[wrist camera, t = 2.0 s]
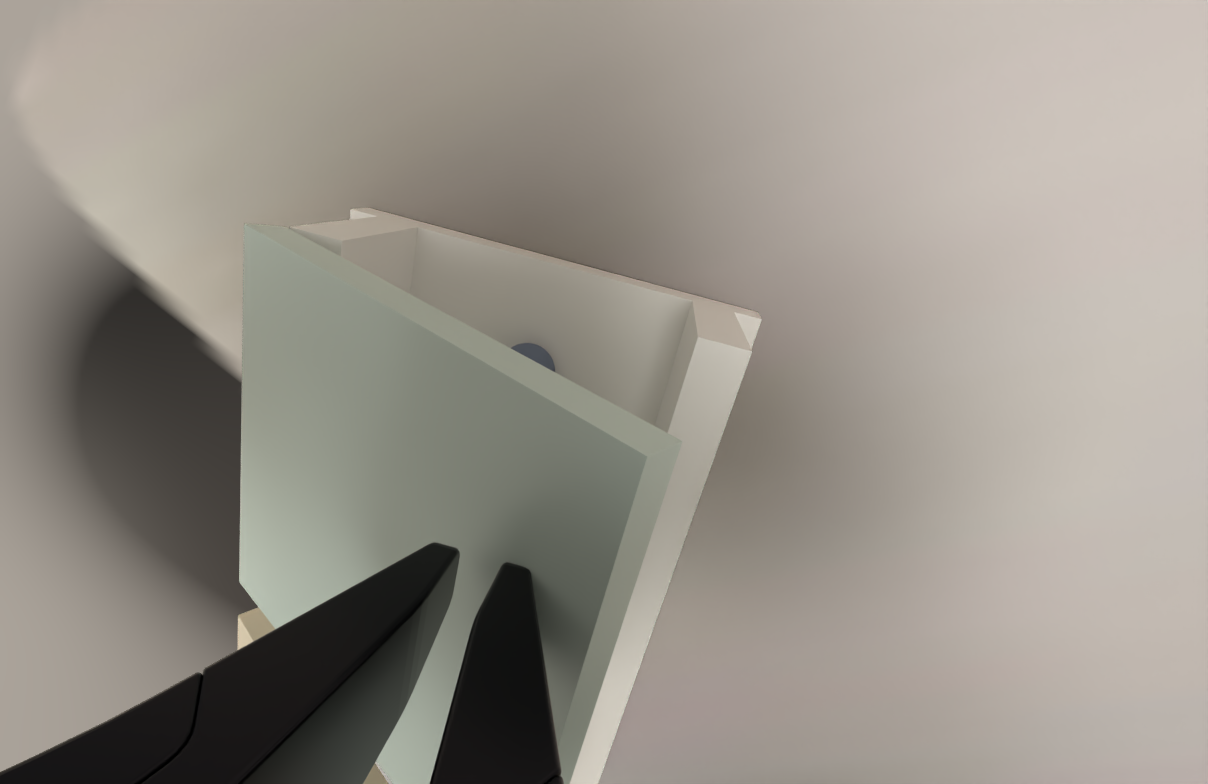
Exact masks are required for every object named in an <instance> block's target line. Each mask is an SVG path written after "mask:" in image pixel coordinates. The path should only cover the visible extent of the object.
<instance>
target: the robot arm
mask: <svg viewBox="0 0 1208 784" xmlns="http://www.w3.org/2000/svg"><path fill="white" fill-rule="evenodd" d="M459 559H460V552H459V550H458V549H457V548H456V547H452V546H448V545H445V544H441V543H438V542H433V543H430V544H428V545H426V546H424V547H422V548H421V549H419V550H417V551H415V552H413V553H412V554H410V555H408V556H406V557H404V558H403V559H401V560H399V561H397V562H395V563H394V564H392V565H390V566H388V567H386V568H385V569H383V570H381V571H379V572H377V573H376V574H374V575H372V576H370V577H368V578H367V579H365V580H363V581H361V582H359V583H358V584H356V585H354V586H352V587H350V588H349V589H347V590H345V591H343V592H341V593H340V594H338V595H336V596H334V597H332V598H331V599H329V600H327V601H325V602H323V603H322V604H320V605H318V606H316V607H314V608H313V609H311V610H309V611H307V612H305V613H304V614H302V615H300V616H298V617H296V618H295V619H293V620H291V621H289V622H287V623H286V624H284V625H282V626H280V627H278V628H276V629H275V630H273V631H271V632H269V633H267V634H266V635H264V636H262V637H260V638H258V639H257V640H255V641H253V642H251V643H249V644H248V645H246V646H244V647H242V648H240V649H239V650H237V651H235V652H233V653H232V654H230V655H228V656H226V657H225V658H222V659H221V660H219V661H217V662H215V663H213V664H212V665H210V666H208V667H206V668H205V669H204V671H203V675H202V674H201V673H195V674H193V675H192V676H190V677H188V678H186V679H184V680H182V681H180V682H179V683H177V684H175V685H173V686H171V687H170V688H168V689H166V690H164V691H162V692H161V693H159V694H157V695H155V696H153V697H151V698H149V699H147V700H146V701H144V702H142V703H140V704H138V705H136V706H134V707H132V708H130V709H129V710H127V711H125V712H123V713H121V714H119V715H117V716H115V717H113V718H112V719H110V720H108V721H106V722H104V723H102V724H100V725H98V726H96V727H93V728H91V729H89V730H87V731H85V732H83V733H81V734H79V735H77V736H75V737H73V738H71V739H69V740H67V741H65V742H63V743H60V744H58V745H56V746H54V747H52V748H50V749H48V750H46V751H44V752H42V753H40V754H38V755H36V756H34V757H31V758H29V759H27V760H25V761H23V762H21V763H19V764H16V765H14V766H12V767H10V768H8V769H6V770H4V771H2V772H0V784H363V783H364V781H365V780H366V778H367V776H368V774H369V772H370V771H371V769H372V767H373V765H374V764H375V762H376V760H377V758H378V756H379V755H380V753H381V751H382V749H383V748H384V746H385V744H386V742H387V740H388V739H389V737H390V735H391V733H392V732H393V730H394V728H395V726H396V725H397V723H398V721H399V719H400V717H401V715H402V713H403V711H404V709H405V707H406V705H407V703H408V701H409V699H410V697H411V694H412V692H413V690H414V688H415V685H416V683H417V681H418V678H419V676H420V674H421V671H422V669H423V667H424V664H425V662H426V660H427V657H428V655H429V653H430V650H431V648H432V646H433V643H434V641H435V639H436V636H437V634H438V632H439V629H440V627H441V625H442V622H443V620H444V618H445V615H446V613H447V610H448V608H449V605H450V603H451V599H452V596H453V592H454V586H455V581H456V575H457V570H458V564H459ZM430 784H564V781H563V778H562V777H561V764H560V758H559V751H558V745H557V738H556V732H555V725H554V719H553V712H552V706H551V699H550V693H549V686H548V680H547V673H546V667H545V660H544V654H543V647H542V641H541V634H540V628H539V621H538V615H537V608H536V602H535V595H534V589H533V582H532V576H531V572H530V570H529V569H527V568H525V567H523V566H520V565H517V564H513V563H509V562H505V563H503V564H502V565H501V567H500V569H499V571H498V573H497V575H496V577H495V579H494V581H493V583H492V585H491V587H490V588H489V590H488V592H487V594H486V596H485V598H484V600H483V602H482V604H481V606H480V608H479V610H478V612H477V614H476V617H475V619H474V622H473V625H472V628H471V631H470V635H469V639H468V642H467V646H466V650H465V654H464V657H463V661H462V665H461V668H460V672H459V676H458V680H457V683H456V687H455V691H454V695H453V698H452V702H451V706H450V709H449V713H448V717H447V721H446V724H445V728H444V732H443V735H442V739H441V743H440V747H439V750H438V754H437V758H436V762H435V765H434V769H433V773H432V776H431V780H430Z"/></svg>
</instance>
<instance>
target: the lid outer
mask: <svg viewBox="0 0 1208 784" xmlns="http://www.w3.org/2000/svg"><path fill="white" fill-rule="evenodd" d="M241 419H242V420H241V492H240V567H239V569H240V570H239V571H240V572H239V573H240V574H239V582H240V583H241V585H242V586H243V587H244V589H245V590H246V591H247V592H248V594H249V595H250V596H251V598H252V599H253V600H254V602H255V603H256V604H257V606H258V607H259V608H260V610H261V611H262V612H263V614H264V615H265V616H266V617H267V619H268V620H269V621H270V623H271V624H272V625H273V627H274V628H275V629H276V628H278V627H280V626H282V625H284V624H286V623H287V622H289V621H291V620H293V619H295V618H296V617H298V616H300V615H302V614H304V613H305V612H307V611H309V610H311V609H313V608H314V607H316V606H318V605H320V604H322V603H323V602H325V601H327V600H329V599H331V598H332V597H334V596H336V595H338V594H340V593H341V592H343V591H345V590H347V589H349V588H350V587H352V586H354V585H356V584H358V583H359V582H361V581H363V580H365V579H367V578H368V577H370V576H372V575H374V574H376V573H377V572H379V571H381V570H383V569H385V568H386V567H388V566H390V565H392V564H394V563H395V562H397V561H399V560H401V559H403V558H404V557H406V556H408V555H410V554H412V553H413V552H415V551H417V550H419V549H421V548H422V547H424V546H426V545H428V544H430V543H433V542H438V543H441V544H445V545H448V546H452V547H456V548H457V549H458V550H459V552H460V559H459V564H458V570H457V575H456V581H455V586H454V592H453V596H452V599H451V603H450V605H449V608H448V610H447V613H446V615H445V618H444V620H443V622H442V625H441V627H440V629H439V632H438V634H437V636H436V639H435V641H434V643H433V646H432V648H431V650H430V653H429V655H428V657H427V660H426V662H425V664H424V667H423V669H422V671H421V674H420V676H419V678H418V681H417V683H416V685H415V688H414V690H413V692H412V694H411V697H410V699H409V701H408V703H407V705H406V707H405V709H404V711H403V713H402V715H401V717H400V719H399V721H398V723H397V725H396V726H395V728H394V730H393V732H392V733H391V735H390V737H389V739H388V740H387V742H386V744H385V746H384V748H383V749H382V751H381V753H380V755H379V756H378V758H377V760H376V762H377V763H378V765H379V766H380V767H381V769H382V770H383V771H384V773H385V774H386V775H387V777H388V778H389V779H390V780H391V782H392V783H393V784H430V780H431V776H432V773H433V769H434V765H435V762H436V758H437V754H438V750H439V747H440V743H441V739H442V735H443V732H444V728H445V724H446V721H447V717H448V713H449V709H450V706H451V702H452V698H453V695H454V691H455V687H456V683H457V680H458V676H459V672H460V668H461V665H462V661H463V657H464V654H465V650H466V646H467V642H468V639H469V635H470V631H471V628H472V625H473V622H474V619H475V617H476V614H477V612H478V610H479V608H480V606H481V604H482V602H483V600H484V598H485V596H486V594H487V592H488V590H489V588H490V587H491V585H492V583H493V581H494V579H495V577H496V575H497V573H498V571H499V569H500V567H501V565H502V564H503V563H505V562H509V563H513V564H517V565H520V566H523V567H525V568H527V569H529V570H530V572H531V576H532V582H533V589H534V595H535V602H536V608H537V615H538V621H539V628H540V634H541V641H542V647H543V654H544V660H545V667H546V673H547V680H548V686H549V693H550V699H551V706H552V712H553V719H554V725H555V732H556V738H557V745H558V751H559V758H560V764H561V777H562V778H563V781H564V784H570V781H571V778H572V775H573V772H574V769H575V766H576V763H577V760H578V757H579V754H580V751H581V748H582V745H583V742H584V739H585V736H586V733H587V730H588V727H589V724H590V721H591V718H592V715H593V711H594V708H595V705H596V702H597V699H598V696H599V693H600V690H601V687H602V684H603V681H604V678H605V675H606V672H607V669H608V666H609V663H610V660H611V657H612V654H613V651H614V648H615V645H616V642H617V639H618V636H619V633H620V630H621V627H622V623H623V620H624V617H625V614H626V611H627V608H628V605H629V602H630V599H631V596H632V593H633V590H634V587H635V584H636V581H637V578H638V575H639V572H640V569H641V566H642V563H643V560H644V557H645V554H646V551H647V548H648V545H649V542H650V538H651V535H652V532H653V529H654V526H655V523H656V520H657V517H658V514H659V511H660V508H661V505H662V502H663V499H664V496H665V493H666V490H667V487H668V484H669V481H670V478H671V475H672V472H673V469H674V466H675V463H676V460H677V457H678V454H679V450H680V447H681V444H682V441H681V440H679V439H678V438H676V437H674V436H672V435H670V434H668V433H667V432H665V431H663V430H661V429H659V428H657V427H655V426H654V425H652V424H650V423H648V422H646V421H644V420H642V419H641V418H639V417H637V416H635V415H633V414H631V413H629V412H628V411H626V410H624V409H622V408H620V407H618V406H616V405H615V404H613V403H611V402H609V401H607V400H605V399H604V398H602V397H600V396H598V395H596V394H594V393H592V392H591V391H589V390H587V389H585V388H583V387H581V386H579V385H578V384H576V383H574V382H572V381H570V380H568V379H566V378H565V377H563V376H561V375H559V374H557V373H555V372H553V371H552V370H550V369H548V368H546V367H544V366H542V365H541V364H539V363H537V362H535V361H533V360H531V359H529V358H528V357H526V356H524V355H522V354H520V353H518V352H516V351H515V350H513V349H511V348H509V347H507V346H505V345H503V344H502V343H500V342H498V341H496V340H494V339H492V338H491V337H489V336H487V335H485V334H483V333H481V332H479V331H478V330H476V329H474V328H472V327H470V326H468V325H466V324H465V323H463V322H461V321H459V320H457V319H455V318H453V317H452V316H450V315H448V314H446V313H444V312H442V311H440V310H439V309H437V308H435V307H433V306H431V305H429V304H428V303H426V302H424V301H422V300H420V299H418V298H416V297H415V296H413V295H411V294H409V293H407V292H405V291H403V290H402V289H400V288H398V287H396V286H394V285H392V284H390V283H389V282H387V281H385V280H383V279H381V278H379V277H377V276H376V275H374V274H372V273H370V272H368V271H366V270H365V269H363V268H361V267H359V266H357V265H355V264H353V263H352V262H350V261H348V260H346V259H344V258H342V257H340V256H339V255H337V254H335V253H333V252H331V251H329V250H327V249H326V248H324V247H322V246H320V245H318V244H316V243H315V242H313V241H311V240H309V239H307V238H305V237H303V236H302V235H300V234H298V233H296V232H294V231H292V230H290V229H289V228H287V227H285V226H273V225H259V224H245V223H244V263H243V339H242V416H241Z"/></svg>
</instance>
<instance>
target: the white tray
mask: <svg viewBox="0 0 1208 784" xmlns="http://www.w3.org/2000/svg"><path fill="white" fill-rule="evenodd" d="M289 229H290V230H292V231H294V232H296V233H298V234H300V235H302V236H303V237H305V238H307V239H309V240H311V241H313V242H315V243H316V244H318V245H320V246H322V247H324V248H326V249H327V250H329V251H331V252H333V253H335V254H337V255H339V256H340V257H342V258H344V259H346V260H348V261H350V262H352V263H353V264H355V265H357V266H359V267H361V268H363V269H365V270H366V271H368V272H370V273H372V274H374V275H376V276H377V277H379V278H381V279H383V280H385V281H387V282H389V283H390V284H392V285H394V286H396V287H398V288H400V289H402V290H403V291H405V292H407V293H409V294H411V295H413V296H415V297H416V298H418V299H420V300H422V301H424V302H426V303H428V304H429V305H431V306H433V307H435V308H437V309H439V310H440V311H442V312H444V313H446V314H448V315H450V316H452V317H453V318H455V319H457V320H459V321H461V322H463V323H465V324H466V325H468V326H470V327H472V328H474V329H476V330H478V331H479V332H481V333H483V334H485V335H487V336H489V337H491V338H492V339H494V340H496V341H498V342H500V343H502V344H503V345H505V346H507V347H509V348H511V347H513V346H515V345H517V344H521V343H533V344H536V345H539V346H541V347H542V348H544V349H545V350H546V351H547V352H548V353H549V354H550V356H551V357H552V359H553V362H554V365H555V373H557V374H559V375H561V376H563V377H565V378H566V379H568V380H570V381H572V382H574V383H576V384H578V385H579V386H581V387H583V388H585V389H587V390H589V391H591V392H592V393H594V394H596V395H598V396H600V397H602V398H604V399H605V400H607V401H609V402H611V403H613V404H615V405H616V406H618V407H620V408H622V409H624V410H626V411H628V412H629V413H631V414H633V415H635V416H637V417H639V418H641V419H642V420H644V421H646V422H648V423H650V424H652V425H654V426H655V427H657V428H659V429H661V430H663V431H665V432H667V433H668V434H670V435H672V436H674V437H676V438H678V439H679V440H681V441H682V444H681V447H680V450H679V454H678V457H677V460H676V463H675V466H674V469H673V472H672V475H671V478H670V481H669V484H668V487H667V490H666V493H665V496H664V499H663V502H662V505H661V508H660V511H659V514H658V517H657V520H656V523H655V526H654V529H653V532H652V535H651V538H650V542H649V545H648V548H647V551H646V554H645V557H644V560H643V563H642V566H641V569H640V572H639V575H638V578H637V581H636V584H635V587H634V590H633V593H632V596H631V599H630V602H629V605H628V608H627V611H626V614H625V617H624V620H623V623H622V627H621V630H620V633H619V636H618V639H617V642H616V645H615V648H614V651H613V654H612V657H611V660H610V663H609V666H608V669H607V672H606V675H605V678H604V681H603V684H602V687H601V690H600V693H599V696H598V699H597V702H596V705H595V708H594V711H593V715H592V718H591V721H590V724H589V727H588V730H587V733H586V736H585V739H584V742H583V745H582V748H581V751H580V754H579V757H578V760H577V763H576V766H575V769H574V772H573V775H572V778H571V781H570V784H598V783H599V780H600V777H601V774H602V772H603V769H604V766H605V763H606V760H607V758H608V755H609V752H610V749H611V746H612V744H613V741H614V738H615V735H616V732H617V730H618V727H619V724H620V721H621V718H622V716H623V713H624V710H625V707H626V704H627V702H628V699H629V696H630V693H631V690H632V688H633V685H634V682H635V679H636V676H637V673H638V671H639V668H640V665H641V662H642V659H643V657H644V654H645V651H646V648H647V645H648V643H649V640H650V637H651V634H652V631H653V629H654V626H655V623H656V620H657V617H658V615H659V612H660V609H661V606H662V603H663V601H664V598H665V595H666V592H667V589H668V587H669V584H670V581H671V578H672V575H673V573H674V570H675V567H676V564H677V561H678V559H679V556H680V553H681V550H682V547H683V544H684V542H685V539H686V536H687V533H688V530H689V528H690V525H691V522H692V519H693V516H694V514H695V511H696V508H697V505H698V502H699V500H700V497H701V494H702V491H703V488H704V486H705V483H706V480H707V477H708V474H709V472H710V469H711V466H712V463H713V460H714V458H715V455H716V452H717V449H718V446H719V444H720V441H721V438H722V435H723V432H724V430H725V427H726V424H727V421H728V418H729V415H730V413H731V410H732V407H733V404H734V401H735V399H736V396H737V393H738V390H739V387H740V385H741V382H742V379H743V376H744V373H745V371H746V368H747V365H748V362H749V359H750V357H751V354H752V350H751V349H752V346H753V343H754V341H755V338H756V335H757V332H758V329H759V327H760V324H761V321H762V319H761V317H760V315H759V314H758V312H756V311H752V310H748V309H745V308H741V307H737V306H733V305H730V304H726V303H722V302H719V301H715V300H711V299H707V298H704V297H700V296H696V295H692V294H689V293H685V292H681V291H678V290H674V289H670V288H666V287H663V286H659V285H655V284H651V283H648V282H644V281H640V280H637V279H633V278H629V277H625V276H622V275H618V274H614V273H610V272H607V271H603V270H599V269H595V268H592V267H588V266H584V265H581V264H577V263H573V262H569V261H566V260H562V259H558V258H554V257H551V256H547V255H543V254H540V253H536V252H532V251H528V250H525V249H521V248H517V247H513V246H510V245H506V244H502V243H499V242H495V241H491V240H487V239H484V238H480V237H476V236H472V235H469V234H465V233H461V232H457V231H454V230H450V229H446V228H443V227H439V226H435V225H431V224H428V223H424V222H420V221H416V220H413V219H409V218H405V217H402V216H398V215H394V214H390V213H387V212H383V211H379V210H375V209H372V208H357V209H351V210H350V220H342V221H333V222H325V223H316V224H307V225H299V226H290V227H289Z"/></svg>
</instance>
